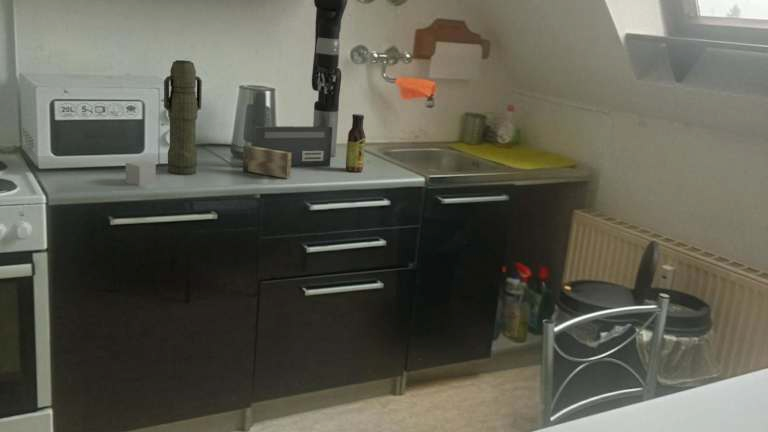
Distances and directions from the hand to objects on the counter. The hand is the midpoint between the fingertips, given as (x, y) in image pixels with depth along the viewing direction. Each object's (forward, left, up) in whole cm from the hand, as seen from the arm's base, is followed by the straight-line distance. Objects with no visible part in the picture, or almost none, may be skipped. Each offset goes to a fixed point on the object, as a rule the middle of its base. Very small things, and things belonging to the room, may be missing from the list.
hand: (324, 103), depth 247 cm
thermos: (-5, -46, -24) cm, 52 cm away
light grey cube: (+7, -61, -24) cm, 66 cm away
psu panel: (-8, -7, -23) cm, 26 cm away
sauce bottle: (0, +13, -24) cm, 27 cm away
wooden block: (+2, -21, -23) cm, 31 cm away
